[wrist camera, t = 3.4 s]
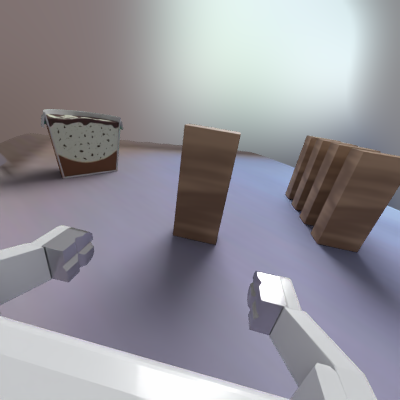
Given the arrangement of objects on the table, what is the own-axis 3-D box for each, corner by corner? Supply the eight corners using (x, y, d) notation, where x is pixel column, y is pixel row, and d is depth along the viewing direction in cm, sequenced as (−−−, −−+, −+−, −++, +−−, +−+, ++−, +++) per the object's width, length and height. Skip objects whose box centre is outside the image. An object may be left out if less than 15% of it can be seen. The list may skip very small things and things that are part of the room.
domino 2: (313, 203, 38) (341, 141, 33) (288, 198, 39) (311, 136, 34) (309, 198, 40) (334, 140, 35) (285, 194, 41) (306, 135, 36)
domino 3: (324, 215, 34) (357, 146, 29) (295, 209, 34) (323, 140, 29) (318, 209, 36) (349, 143, 31) (291, 203, 36) (317, 138, 31)
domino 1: (215, 244, 22) (240, 134, 17) (173, 235, 22) (184, 124, 17) (217, 233, 24) (240, 132, 19) (178, 224, 24) (190, 123, 19)
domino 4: (337, 230, 29) (380, 151, 24) (304, 223, 30) (339, 144, 25) (330, 222, 31) (368, 148, 26) (299, 216, 32) (331, 142, 27)
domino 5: (357, 252, 25) (415, 160, 20) (317, 243, 25) (363, 151, 20) (347, 241, 27) (397, 155, 22) (310, 233, 27) (351, 148, 22)
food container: (108, 162, 43) (106, 113, 39) (124, 170, 40) (123, 117, 35) (40, 169, 34) (26, 106, 29) (52, 180, 30) (39, 111, 26)
